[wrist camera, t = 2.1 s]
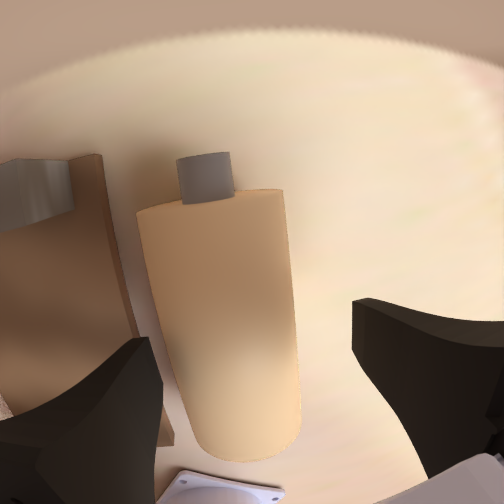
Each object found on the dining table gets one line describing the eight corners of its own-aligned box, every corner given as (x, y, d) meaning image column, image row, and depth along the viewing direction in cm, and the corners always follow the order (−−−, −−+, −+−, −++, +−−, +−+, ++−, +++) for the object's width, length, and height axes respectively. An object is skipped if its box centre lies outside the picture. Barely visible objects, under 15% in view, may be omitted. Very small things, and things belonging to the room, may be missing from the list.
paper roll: (305, 409, 16) (298, 483, 11) (215, 407, 17) (188, 473, 12) (283, 148, 12) (266, 141, 8) (167, 166, 13) (98, 172, 9)
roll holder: (174, 433, 16) (171, 502, 11) (35, 432, 15) (11, 484, 10) (101, 155, 12) (48, 147, 7) (-50, 205, 11) (-112, 221, 6)
